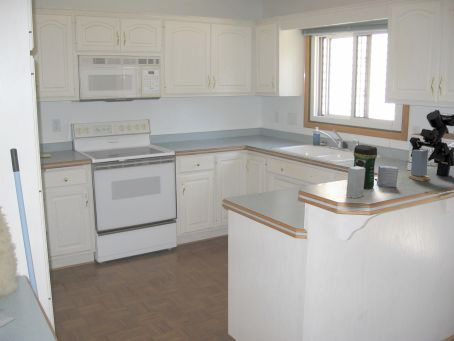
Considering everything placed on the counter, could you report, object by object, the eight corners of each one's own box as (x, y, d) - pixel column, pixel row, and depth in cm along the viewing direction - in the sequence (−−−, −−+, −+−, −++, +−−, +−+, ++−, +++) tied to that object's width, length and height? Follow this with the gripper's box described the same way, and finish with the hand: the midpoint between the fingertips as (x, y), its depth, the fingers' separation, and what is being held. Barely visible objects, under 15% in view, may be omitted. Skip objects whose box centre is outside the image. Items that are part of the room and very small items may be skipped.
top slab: (416, 176, 240) (416, 173, 239) (429, 179, 234) (430, 176, 234) (408, 178, 235) (408, 174, 235) (421, 181, 230) (422, 177, 230)
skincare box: (354, 194, 204) (357, 165, 201) (362, 196, 201) (366, 167, 198) (345, 196, 200) (348, 167, 197) (354, 198, 197) (357, 169, 194)
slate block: (417, 174, 238) (418, 149, 236) (426, 175, 234) (428, 150, 232) (411, 175, 235) (412, 150, 233) (420, 176, 231) (421, 150, 229)
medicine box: (394, 185, 222) (396, 166, 220) (396, 187, 218) (398, 168, 216) (376, 184, 223) (378, 165, 221) (378, 186, 219) (380, 167, 217)
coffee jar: (376, 187, 216) (381, 146, 212) (366, 190, 211) (371, 147, 207) (357, 183, 223) (361, 142, 219) (347, 185, 217) (351, 144, 213)
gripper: (414, 120, 239) (397, 144, 235) (449, 125, 224) (431, 151, 220) (421, 135, 245) (405, 159, 241) (456, 141, 230) (439, 166, 226)
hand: (419, 158), depth 232 cm, fingers open, 9 cm apart
